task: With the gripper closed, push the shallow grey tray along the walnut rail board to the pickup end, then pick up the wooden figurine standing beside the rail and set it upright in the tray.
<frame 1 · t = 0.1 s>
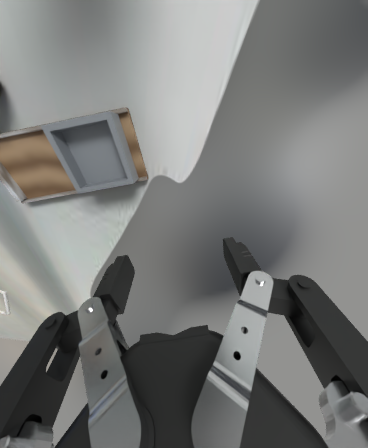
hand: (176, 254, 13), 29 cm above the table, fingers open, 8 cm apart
rail board: (73, 160, 34), on the table
shallow grey tray: (99, 155, 30), point 4 cm above the table, slide at 0.0 cm
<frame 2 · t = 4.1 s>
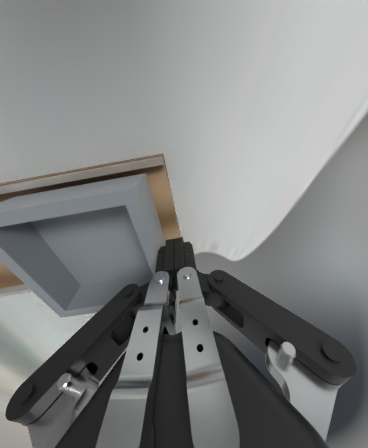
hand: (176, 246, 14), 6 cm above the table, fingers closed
rail board: (56, 235, 19), on the table
shallow grey tray: (103, 246, 15), point 4 cm above the table, slide at 0.1 cm, touching gripper
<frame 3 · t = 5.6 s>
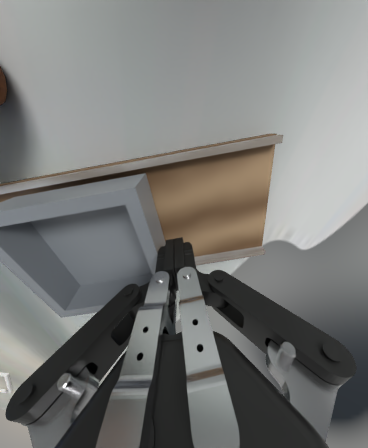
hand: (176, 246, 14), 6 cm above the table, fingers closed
rail board: (138, 221, 19), on the table
shallow grey tray: (103, 246, 15), point 4 cm above the table, slide at 10.7 cm, touching gripper
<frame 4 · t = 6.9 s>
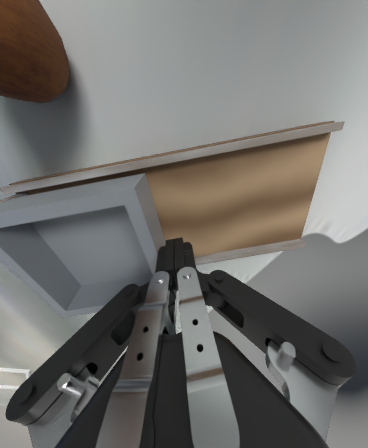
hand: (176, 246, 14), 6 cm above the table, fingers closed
wooden figurine: (39, 59, 12), on the table
rail board: (178, 214, 19), on the table
shallow grey tray: (103, 246, 15), point 4 cm above the table, slide at 15.9 cm, touching gripper
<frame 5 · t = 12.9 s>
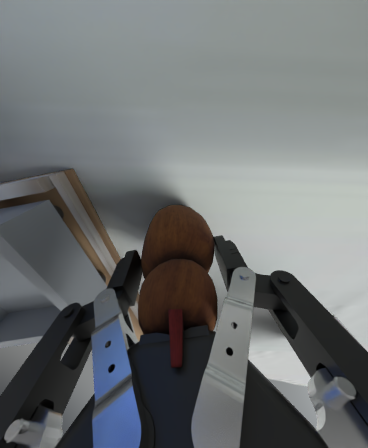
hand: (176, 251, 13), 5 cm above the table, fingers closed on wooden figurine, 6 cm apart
wooden figurine: (176, 222, 17), on the table, touching gripper
rail board: (85, 288, 22), on the table
shallow grey tray: (18, 275, 14), point 4 cm above the table, slide at 15.9 cm
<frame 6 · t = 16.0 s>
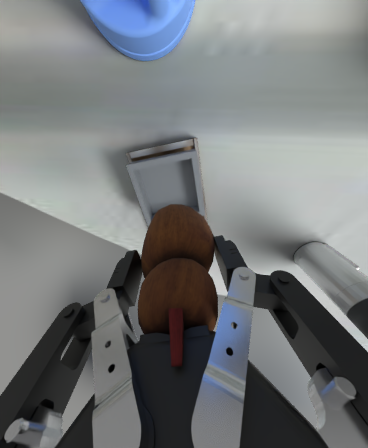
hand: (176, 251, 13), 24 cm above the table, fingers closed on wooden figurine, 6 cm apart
wooden figurine: (176, 222, 17), point 19 cm above the table, touching gripper
rail board: (177, 213, 38), on the table
shallow grey tray: (169, 188, 30), point 4 cm above the table, slide at 15.9 cm
when the fingers open (10 cm above the table, at t = 19.3 s): wooden figurine drops 1 cm, resting on shallow grey tray.
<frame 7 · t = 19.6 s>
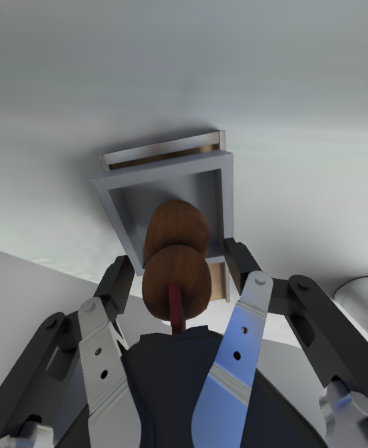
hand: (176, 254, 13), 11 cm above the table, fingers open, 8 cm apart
wooden figurine: (175, 217, 18), point 4 cm above the table, touching shallow grey tray
rail board: (184, 243, 26), on the table
shallow grey tray: (174, 214, 18), point 4 cm above the table, slide at 15.9 cm, touching wooden figurine
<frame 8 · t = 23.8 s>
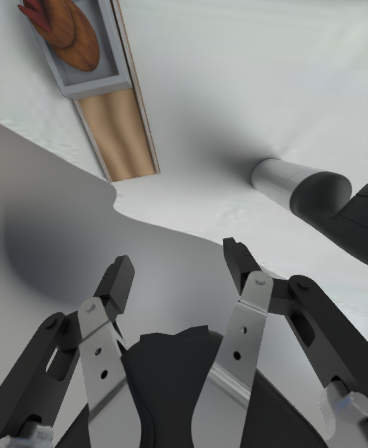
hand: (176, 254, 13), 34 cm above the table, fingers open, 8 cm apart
wooden figurine: (88, 52, 27), point 4 cm above the table, touching shallow grey tray
rail board: (113, 108, 34), on the table
shallow grey tray: (86, 48, 27), point 4 cm above the table, slide at 16.0 cm, touching wooden figurine
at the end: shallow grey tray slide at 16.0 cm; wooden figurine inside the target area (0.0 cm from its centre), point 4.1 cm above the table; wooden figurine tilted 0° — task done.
